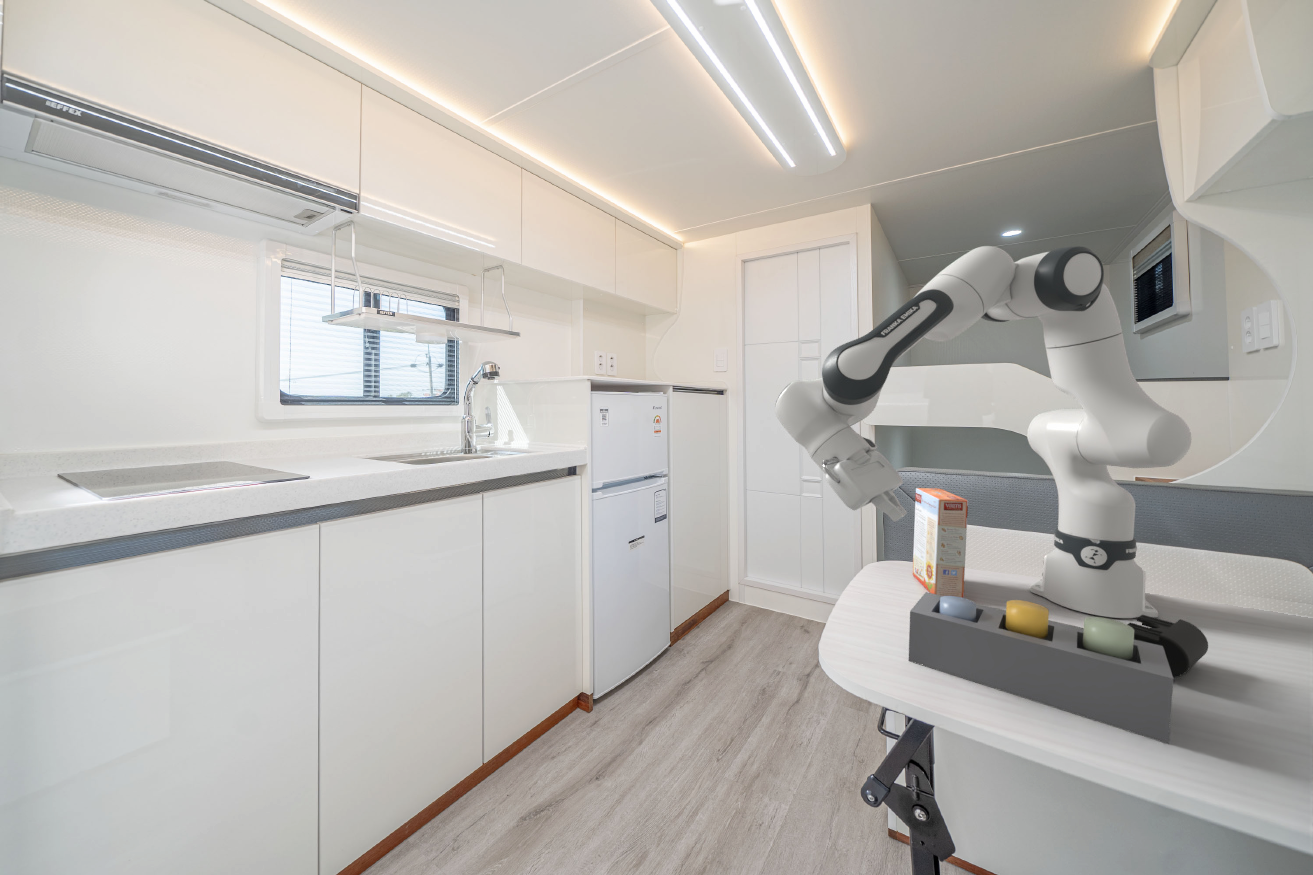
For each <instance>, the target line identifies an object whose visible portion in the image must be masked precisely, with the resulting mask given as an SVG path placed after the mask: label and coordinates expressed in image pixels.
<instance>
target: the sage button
mask: <svg viewBox="0 0 1313 875" xmlns="http://www.w3.org/2000/svg"><path fill="white" fill-rule="evenodd" d="M1127 624H1128V623H1127ZM1127 624H1126V623H1124V622H1121V621H1118V620H1115V619H1112V618H1109V617H1103V616H1087V617H1084V619H1083V628H1084V632H1083V646H1084V647H1085V648H1086V649H1087V650H1089V651H1091V652H1095V653H1099V654H1103V655H1107V656H1111V657H1115V658H1119V659H1123V660H1130V659H1132V658H1133V643H1134V629H1133V628H1132V627H1130V626H1129V625H1127Z"/></svg>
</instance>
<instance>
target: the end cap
mask: <svg viewBox="0 0 1313 875" xmlns="http://www.w3.org/2000/svg"><path fill="white" fill-rule="evenodd" d="M1136 622H1139V623H1141V624H1137V623H1133V622H1128V623H1127V625H1129V626H1130V627H1132V628H1133V629H1134V640H1138V641H1143V642H1147V643H1152V644H1156V645H1160V646H1163V648H1164V651H1165V654H1166V657H1167V660H1168V663H1169V666H1170V670H1171V673H1172V676H1173V678H1178V677H1181V676H1183V675H1185V674H1186V673H1187V672H1188V671H1190V669H1192V667H1193V666H1194V665H1195V664H1196V663H1197V662H1198V661H1200V660H1201V658H1203V657H1204V656H1205V655H1206V654H1207V652H1208V649H1209V642H1208V639H1207V637H1206V635H1205V634H1204V632H1203V631H1201V629H1200V628H1198V627H1197V626H1196V625H1194V624H1192V623H1191V622H1189V621H1187V620H1184V619H1179V620H1177V621H1176V622H1171V621H1168V620H1164V619H1160V618H1158V617H1149V616H1146V615H1141V616H1139V617H1136Z"/></svg>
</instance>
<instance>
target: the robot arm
mask: <svg viewBox="0 0 1313 875" xmlns="http://www.w3.org/2000/svg"><path fill="white" fill-rule="evenodd" d="M1104 270H1105V269H1104V266H1103V263H1102V261H1101V259H1100V258H1099V257H1098V256H1097V254H1096V253H1095V252H1093V251H1092V250H1091V249H1090V248H1088V247H1085V246H1078V245H1077V246H1076V245H1075V246H1063V247H1058V248H1055V249H1052V250H1051V251H1046V252H1041V253H1038V254H1033V255H1030V256H1027V257H1026V256H1025V257H1022V258H1021V259H1019V260H1017V261H1014V259H1013V258H1012V256H1011V255H1010V254H1009V253H1008V252H1006V250H1004V249H1002V248H1000V247H997V246H993V245H992V246H991V245H984V246H983V245H982V246H979V247H976V248H973V249H971V250H970V251H968V252H966V253H965V254H963V255H962V256H960V257H959V258H957V259H956V260H954V261H953V262H952V263H950V264H949V265H947V266H946V267H945V268H944V269H942V270H941V271H939V273H937V274H936V275H934V277H933V278H931V279H930V280H929V281H928V282H927V283H926V284H925V285H924V286H923V287H922V288H921V289H920V290H919V291H918V292H917V293H916V294H915V296H914V297H912V298H910V300H908V301H907V302H906V303H904V304H903V305H902V306H901V307H899V308H898V309H897V310H895V311H894V312H893V313H891V314H890V316H888V317H887V318H886V319H884V320H883V321H881V323H879V324H878V325H877V326H876V327H875V328H873V329H872V330H871V331H870V332H869V331H868V333H867V334H864V335H863V336H861V337H858V338H856V339H852V340H850V341H847V342H845V343H843V344H841V345H839V346H837V347H836V348H834V349H833V350H831V352H830V353H829V354H828V355H827V357H826V358H825V359H824V361H823V364H822V368H821V377H820V378H817V379H816V378H815V379H807V380H793V381H792V382H790V383H788V384H787V385H786V386H785V387H784V389H782V391H781V392H780V394H778V397H777V399H776V401H775V404H774V405H775V406H774V412H775V415H776V416H775V417H776V418H777V419H778V421H779V422H780V423H781V425H782V427H783V428H784V429H785V430H786V431H787V433H788V434H789V435H790V436H791V438H792V439H793V440H794V441H795V442H796V443H797V444H799V445H800V446H802V447H803V448H804V449H805V450H806V451H807V454H808V455H809V457H810V458H811V460H812V461H813V462H814V463H815V464H816V465H817V466H818V467H819V469H820V470H821V471H822V472H823V474H825V480H826V481H827V483H828V485H829V486H830V487H831V489H832V490H833V491H834V493H835V495H836V496H837V497H838V498H839V499H840V500H841V502H842V503H843V504H844V505H845V506H846V507H847V508H849V509H850V510H851V511H857V510H859V509H862V508H863V507H865V506H867V505H869V504H871V503H872V504H873V506H874V507H875V508H877V509H878V510H880V511H881V512H882V513H884V514H886V515H887V516H888V517H889V518H890V519H891V520H892V521H893V522H898V521H899V520H900V519H902V518H904V516H906V515H907V510H906V509H905V508H904V506H902V505H901V503H900V501H899V499H898V497H897V496H896V495H895V493H894V491H895V490H897V489H898V488H899V487H900V486H902V484H904V480H903V478H902V476H901V475H900V473H899V472H898V470H896V469H895V467H894V466H893V465H892V464H891V463H890V462H889V461H888V459H887V458H885V456H884V455H883V454H882V453H881V452H879V451H878V450H877V448H878V445H877V444H876V442H874V441H873V440H872V439H870V438H866V437H863V436H862V435H861V434H859V433H858V432H856V431H855V429H854V428H853V427H852V426H853V425H856V424H857V423H859V422H861V421H862V420H865V419H866V418H867V417H868V416H870V415H871V414H872V413H873V411H875V408H876V407H877V404H878V401H879V399H880V398H879V397H880V395H881V392H882V389H883V387H884V385H885V383H886V381H887V379H888V376H889V373H890V371H891V368H892V366H893V365H894V364H895V362H896V361H897V360H899V359H900V358H901V357H902V356H903V355H905V354H906V353H907V352H908V351H910V350H911V349H912V348H913V347H914V346H915V345H916V344H918V343H920V341H921V340H923V339H924V338H925V339H927V340H930V341H932V342H949V341H951V340H953V339H954V338H956V337H958V336H959V335H961V334H962V333H964V332H965V331H967V330H968V329H970V328H971V326H973V325H974V324H975V323H977V322H978V321H979V320H980V319H983V320H985V321H988V322H992V323H1004V322H1008V321H1017V320H1018V321H1019V320H1028V319H1035V318H1038V320H1039V321H1040V322H1041V324H1042V329H1043V340H1044V346H1045V352H1046V356H1047V357H1046V358H1047V362H1048V367H1049V372H1050V378H1051V382H1052V384H1053V386H1054V387H1055V388H1056V389H1058V390H1059V391H1060V392H1063V393H1065V394H1066V395H1069V396H1070V397H1072V398H1073V399H1074V400H1075V401H1076V402H1077V403H1078V404H1079V405H1080V408H1079V407H1077V408H1076V407H1074V408H1073V407H1072V408H1071V407H1066V408H1065V407H1064V408H1060V409H1059V408H1058V409H1053V410H1049V411H1048V410H1047V411H1044V412H1040V413H1039V414H1037V415H1036V416H1034V417H1033V419H1032V420H1031V421H1030V423H1029V425H1028V426H1027V432H1026V435H1027V437H1026V438H1027V441H1028V444H1029V446H1030V448H1031V449H1032V450H1033V451H1034V452H1035V453H1036V454H1037V455H1039V457H1041V459H1042V460H1043V461H1044V462H1045V464H1046V465H1047V466H1048V468H1049V470H1050V472H1051V474H1052V476H1053V477H1052V478H1053V479H1054V482H1055V484H1056V488H1057V494H1058V496H1057V497H1058V520H1057V523H1058V524H1057V527H1056V528H1055V530H1054V535H1053V540H1054V542H1053V543H1054V544H1053V545H1054V549H1053V550H1052V551H1050V552H1048V553H1047V554H1045V555H1044V557H1043V559H1042V562H1043V571H1042V574H1041V576H1042V578H1041V579H1039V580H1038V581H1037V582H1036V583H1034V584H1033V585H1031V586H1030V592H1031V593H1033V594H1035V595H1039V596H1041V597H1043V598H1045V599H1047V600H1049V601H1051V602H1053V603H1055V604H1057V605H1059V606H1062V607H1065V608H1067V609H1070V610H1074V611H1077V612H1082V613H1084V614H1090V615H1095V616H1098V617H1104V618H1115V619H1133V618H1138V617H1139V616H1141V615H1146V616H1149V617H1153V618H1158V617H1159V611H1158V610H1157V609H1156V608H1155V607H1154V606H1152V604H1151V603H1150V602H1149V601H1147V599H1146V579H1147V578H1146V576H1147V575H1146V571H1145V570H1144V569H1143V568H1142V567H1141V566H1140V565H1139V564H1137V562H1136V561H1135V558H1136V555H1137V550H1138V547H1137V539H1136V538H1134V536H1135V535H1134V534H1135V533H1134V532H1135V518H1136V501H1135V498H1134V497H1133V495H1132V494H1131V493H1130V492H1129V491H1128V490H1127V489H1125V488H1123V487H1122V486H1121V485H1119V484H1118V483H1117V482H1116V481H1115V480H1114V479H1113V478H1112V476H1111V475H1110V473H1109V470H1108V467H1107V466H1111V467H1120V468H1129V469H1154V468H1167V467H1171V466H1174V465H1175V464H1177V463H1178V462H1180V461H1181V460H1182V459H1183V458H1184V457H1185V456H1186V455H1187V453H1188V452H1189V450H1190V447H1191V444H1192V432H1191V429H1190V428H1189V425H1188V424H1187V422H1186V421H1185V420H1184V419H1183V418H1182V417H1181V416H1179V415H1177V414H1176V413H1174V412H1171V411H1169V410H1168V409H1165V408H1164V407H1162V406H1161V405H1159V403H1157V402H1156V401H1155V400H1153V399H1152V398H1151V397H1150V396H1149V395H1148V394H1147V393H1146V392H1145V390H1143V388H1142V387H1141V385H1140V384H1139V382H1138V381H1137V380H1136V378H1135V376H1134V375H1133V372H1132V369H1131V366H1130V363H1129V358H1128V354H1127V349H1126V345H1125V340H1124V333H1123V330H1122V329H1123V328H1122V324H1121V319H1120V315H1119V312H1118V310H1117V306H1116V303H1115V301H1114V299H1113V297H1112V295H1111V292H1110V290H1109V288H1108V287H1107V285H1106V284H1104V279H1105V272H1104ZM1081 407H1082V408H1081Z"/></svg>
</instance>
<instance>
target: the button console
mask: <svg viewBox="0 0 1313 875" xmlns="http://www.w3.org/2000/svg"><path fill="white" fill-rule="evenodd" d="M941 597H943V596H941V595H937V594H932V593H930V592H929V591H928V592H927V591H926V592H924V593H923V594H922V596H921V598H919V600H918V601H917V602H915V604H914V605H913V607H912V608H911V609H910V610H909V632H908V633H909V638H908V662H911V661H913V662H912V663H914V662H916V663H915V664H917V663H919V664H918V665H920V664H923V665H925V666H924V667H926V666H928V667H927V668H930V667H931V668H930V669H933V670H936V669H937V670H936V671H940V672H942V671H943V673H945V672H946V674H949V675H951V676H955V677H959V678H962V679H965V680H967V681H971V682H974V683H977V684H979V685H984V686H987V687H989V688H992V689H995V690H998V691H1002V692H1006V693H1009V694H1012V695H1015V696H1017V697H1021V698H1024V699H1027V700H1030V701H1033V702H1037V703H1039V704H1043V705H1046V706H1049V707H1053V708H1056V709H1059V710H1061V711H1064V712H1068V713H1071V714H1074V715H1076V716H1077V715H1078V716H1080V717H1084V718H1087V719H1090V720H1093V721H1097V722H1100V723H1103V724H1105V725H1108V726H1112V727H1115V728H1118V729H1121V730H1125V731H1128V732H1130V733H1133V734H1136V735H1140V736H1142V737H1143V736H1144V737H1145V738H1149V739H1153V740H1155V741H1159V742H1162V743H1164V744H1168V745H1169V744H1170V731H1171V718H1172V717H1171V715H1172V707H1173V706H1172V703H1173V691H1174V689H1173V688H1174V677H1173V676H1172V673H1171V670H1170V666H1169V663H1168V660H1167V657H1166V654H1165V651H1164V648H1163V646H1160V645H1156V644H1152V643H1147V642H1143V641H1138V640H1134V643H1133V658H1132V659H1130V660H1123V659H1119V658H1115V657H1111V656H1107V655H1103V654H1099V653H1095V652H1091V651H1089V650H1087V649H1086V648H1085V647H1084V646H1083V632H1084V627H1082V626H1081V627H1080V626H1076V625H1073V624H1069V623H1063V622H1058V621H1055V620H1049V619H1048V636H1047V637H1046V638H1043V639H1039V638H1035V637H1031V636H1027V635H1023V634H1019V633H1015V632H1011V631H1009V630H1008V629H1007V628H1006V609H1002V608H996V607H992V606H989V605H984V604H980V603H975V602H974V603H975V604H976V623H975V622H971V621H967V620H963V619H959V618H955V617H951V616H947V615H943V614H939V613H940V598H941ZM923 665H922V666H923Z"/></svg>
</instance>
